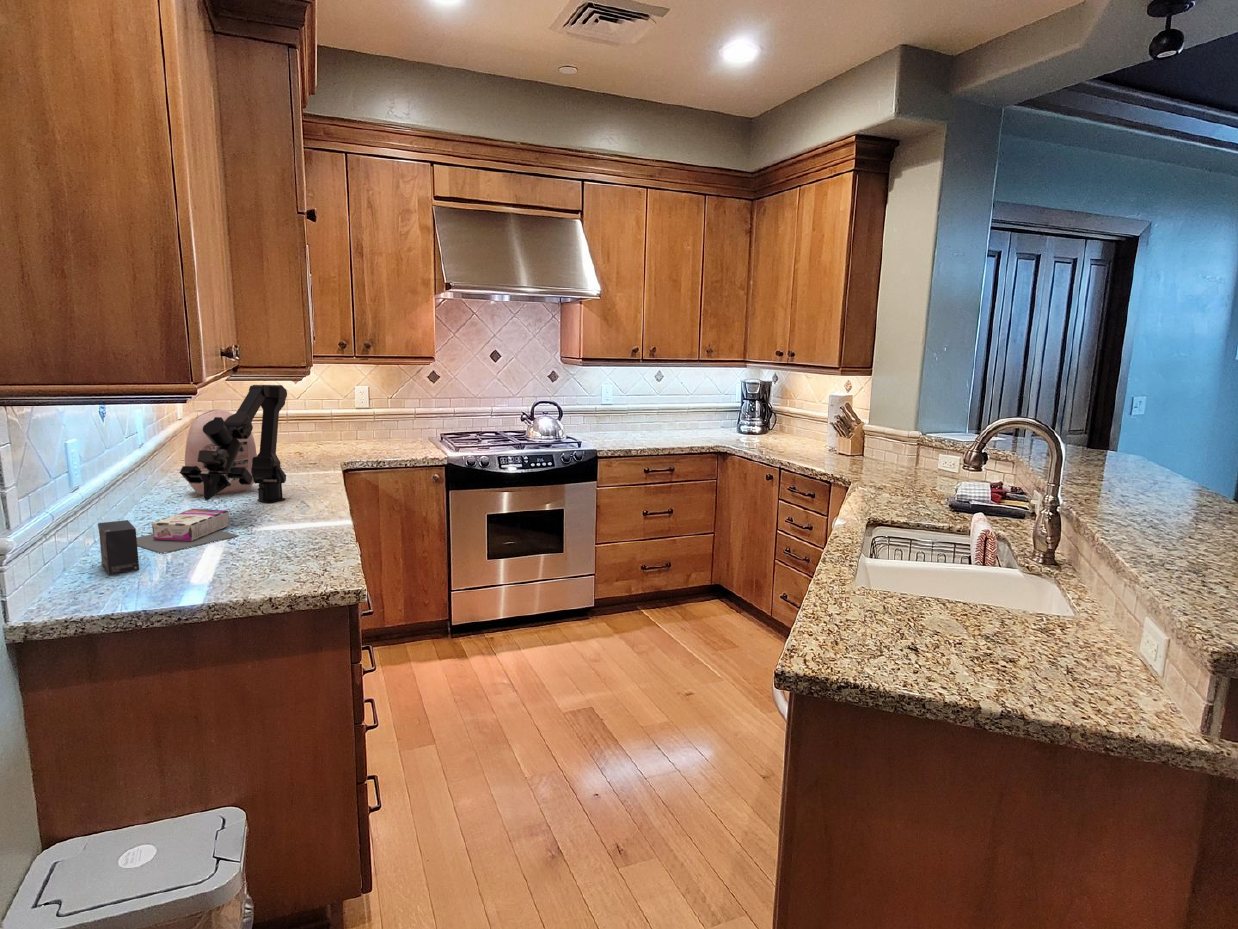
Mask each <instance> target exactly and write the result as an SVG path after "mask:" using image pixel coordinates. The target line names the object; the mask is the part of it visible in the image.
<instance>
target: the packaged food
mask: <svg viewBox="0 0 1238 929" xmlns="http://www.w3.org/2000/svg"><path fill="white" fill-rule="evenodd" d="M233 414H234V413H232V412H230V411H229V410H226V409H225V410H224V409H219V408H218V409H213V410H210V411H207V412H203V413H202V414H200V415H199V416H197V417H195V419H194V420H192V422H191V424H190V427H189V429H188V433H187V437H186V443H185V450H184V452H185V453H184V466H197V467H198V468H199V469H200V470H201V469H207V468H205V467H204V466H203V465H204V463H202V462H198V461H197V460H198V454H199V451H200V450H206V451H216V449H217V447H218V446H216V445H214V444H213V443H212V442H211V441H210V440H209V438H208V437H207V436H206V435H205V433H204V432H203V426H204V425H205V424H206V423H208V422H209V421H211V420H214V418H215V417H222V419H223V420H224V421H225V420H226V419H227V418H228V417H229V416H231V415H233ZM237 440H238V441H239V442H240V443H241V445H242V447H243V449H244V451H243V452H238V454H237V457H236V459H235V462H236V466H232V467H245V468H246V469H247V470H248V472H249V473H250V474H251V476H252V473H251V468H252V459H253V457H257V455H258V454H257V445H256V442H255V438H254V436H253V433H252V432H251V434H250V436H249V438H248V439H237ZM239 479H240V478H233V479H232V480H231V482H230V484H231V486H228V487H226V488H225V489H223V490H221V491H220V492H219V493H217V494H216V495H222V494H223V495H224V494H233V493H232V492H235V493H239V491H240V492H244V491H246V490H249V489H250V488H251V487H252V486H253V485H254V484H255V483H254V480H253V477H252V482H251V484H250V485H241V484H240V482H239ZM188 484H189V486H190V487H191V488H192V489H193V490H194V491H195V492H196V493H197V494H199V495H202V496H204V484H203V482H201V483H189V482H188Z"/></svg>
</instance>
